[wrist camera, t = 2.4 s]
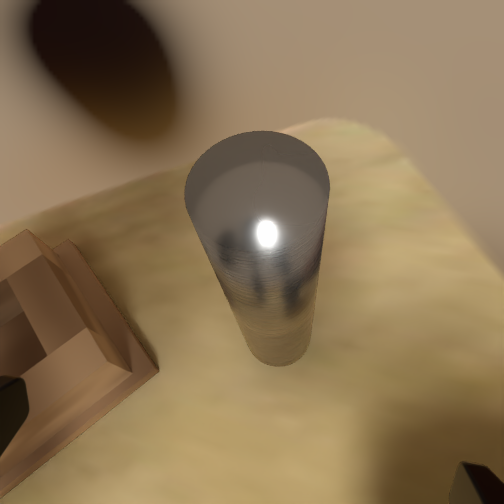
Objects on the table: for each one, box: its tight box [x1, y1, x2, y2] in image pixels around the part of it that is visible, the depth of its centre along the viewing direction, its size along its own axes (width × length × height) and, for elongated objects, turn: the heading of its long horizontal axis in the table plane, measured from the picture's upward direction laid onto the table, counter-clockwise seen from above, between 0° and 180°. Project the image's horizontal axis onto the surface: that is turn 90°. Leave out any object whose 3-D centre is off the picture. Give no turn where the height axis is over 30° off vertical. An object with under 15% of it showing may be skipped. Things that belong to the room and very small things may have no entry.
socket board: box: [0, 229, 159, 498], centre depth 20 cm, size 11×10×4 cm
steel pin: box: [185, 131, 330, 367], centre depth 15 cm, size 3×3×13 cm
